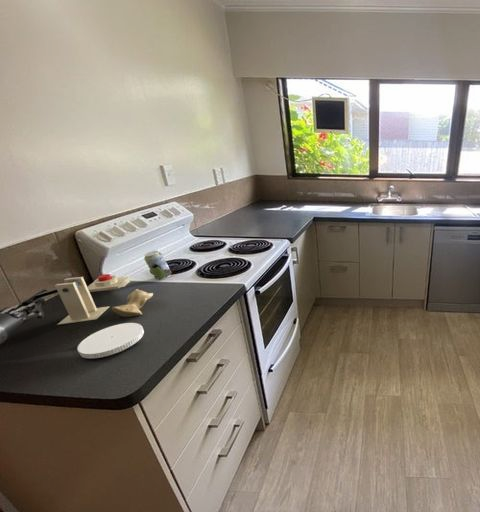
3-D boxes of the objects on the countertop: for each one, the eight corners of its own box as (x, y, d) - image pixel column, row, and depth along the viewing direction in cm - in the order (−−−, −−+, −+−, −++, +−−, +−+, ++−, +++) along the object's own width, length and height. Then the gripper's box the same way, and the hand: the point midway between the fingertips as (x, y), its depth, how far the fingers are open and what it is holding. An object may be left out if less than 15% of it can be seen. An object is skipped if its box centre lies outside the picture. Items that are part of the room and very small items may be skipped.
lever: (25, 307, 86) (19, 301, 85) (44, 295, 93) (39, 288, 92) (70, 293, 88) (65, 287, 87) (86, 282, 95) (81, 276, 94)
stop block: (84, 295, 109) (80, 286, 108) (98, 284, 117) (94, 276, 115) (119, 291, 112) (116, 282, 111) (130, 281, 120) (127, 272, 119)
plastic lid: (93, 368, 74) (89, 360, 73) (72, 350, 81) (68, 343, 80) (154, 338, 86) (151, 331, 85) (132, 324, 92) (129, 318, 91)
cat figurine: (107, 307, 90) (130, 281, 100) (111, 321, 94) (133, 295, 104) (137, 311, 92) (157, 285, 102) (141, 325, 96) (159, 299, 106)
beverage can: (174, 277, 124) (166, 251, 119) (153, 283, 118) (144, 256, 114) (170, 273, 127) (162, 248, 123) (150, 278, 122) (141, 252, 118)
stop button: (97, 282, 111) (95, 278, 110) (102, 278, 114) (100, 274, 114) (108, 281, 112) (107, 277, 111) (113, 277, 115) (111, 273, 115)
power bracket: (58, 327, 90) (39, 289, 85) (75, 313, 98) (57, 277, 92) (97, 322, 93) (81, 284, 88) (110, 309, 100) (96, 273, 95)
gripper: (14, 317, 74) (60, 287, 90) (-60, 327, 70) (1, 294, 86) (27, 340, 77) (70, 307, 93) (-43, 351, 73) (13, 315, 89)
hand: (36, 301), depth 89 cm, fingers closed
